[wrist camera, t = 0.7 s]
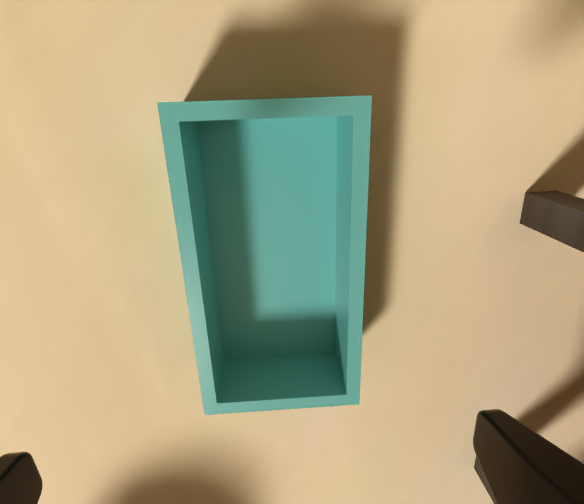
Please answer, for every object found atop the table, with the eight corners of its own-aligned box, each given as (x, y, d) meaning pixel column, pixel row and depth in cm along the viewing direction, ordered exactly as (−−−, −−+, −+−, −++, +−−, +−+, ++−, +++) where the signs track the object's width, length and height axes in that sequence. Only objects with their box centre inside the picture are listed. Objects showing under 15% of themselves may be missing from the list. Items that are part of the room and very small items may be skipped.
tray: (348, 98, 16) (372, 95, 12) (343, 351, 21) (359, 404, 17) (183, 103, 16) (157, 102, 12) (216, 359, 20) (204, 415, 17)
